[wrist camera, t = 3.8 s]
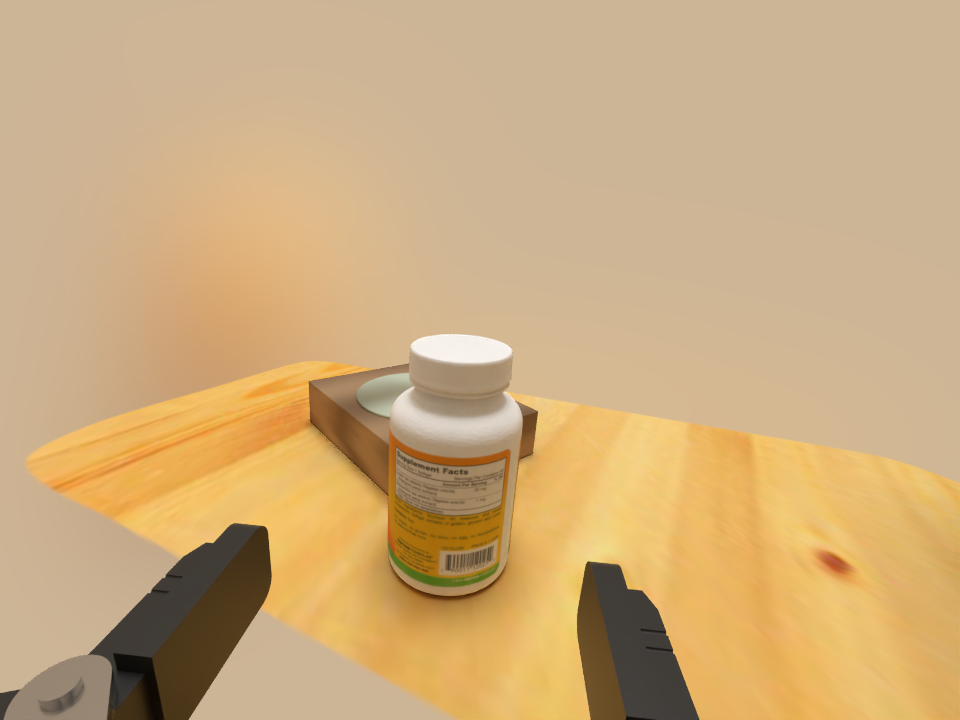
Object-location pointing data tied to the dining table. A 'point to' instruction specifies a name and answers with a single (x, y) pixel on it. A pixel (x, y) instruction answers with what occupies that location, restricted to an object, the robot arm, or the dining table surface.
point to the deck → (374, 416)
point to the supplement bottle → (453, 465)
